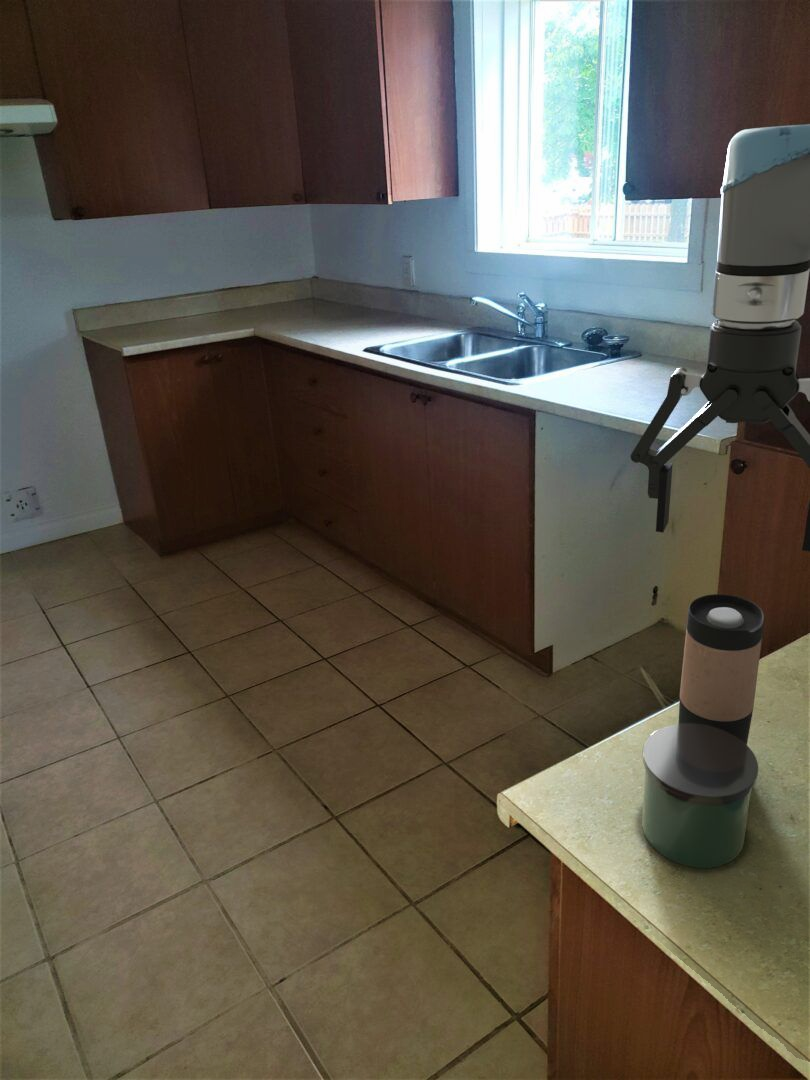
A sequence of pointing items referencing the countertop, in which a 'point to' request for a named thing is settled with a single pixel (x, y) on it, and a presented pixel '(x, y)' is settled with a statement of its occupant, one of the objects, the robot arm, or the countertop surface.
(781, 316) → the robot arm
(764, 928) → the countertop surface
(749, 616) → the travel mug
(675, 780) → the jar
